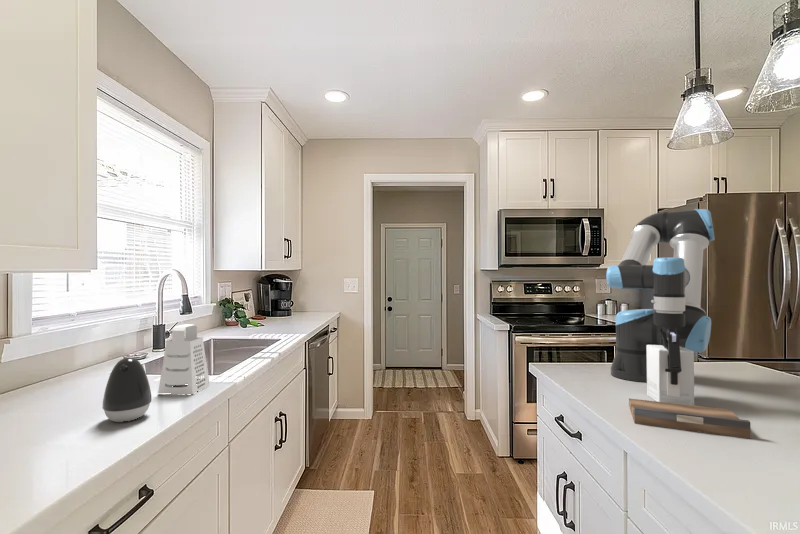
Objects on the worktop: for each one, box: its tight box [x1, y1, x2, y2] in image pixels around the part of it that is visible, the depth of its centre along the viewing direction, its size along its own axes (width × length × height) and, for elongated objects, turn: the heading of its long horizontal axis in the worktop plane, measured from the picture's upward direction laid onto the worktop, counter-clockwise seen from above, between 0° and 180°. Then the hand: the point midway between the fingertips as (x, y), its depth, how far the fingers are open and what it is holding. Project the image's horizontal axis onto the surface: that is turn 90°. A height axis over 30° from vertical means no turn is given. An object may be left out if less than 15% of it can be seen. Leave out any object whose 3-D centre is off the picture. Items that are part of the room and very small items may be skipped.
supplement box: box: [646, 345, 695, 406], centre depth 115 cm, size 9×9×15 cm
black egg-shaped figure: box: [101, 357, 152, 423], centre depth 102 cm, size 10×10×15 cm
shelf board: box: [628, 397, 751, 439], centre depth 100 cm, size 14×22×4 cm, turn 66°
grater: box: [157, 323, 211, 395], centre depth 127 cm, size 10×10×20 cm
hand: (669, 390), depth 115 cm, fingers closed on supplement box, 10 cm apart
